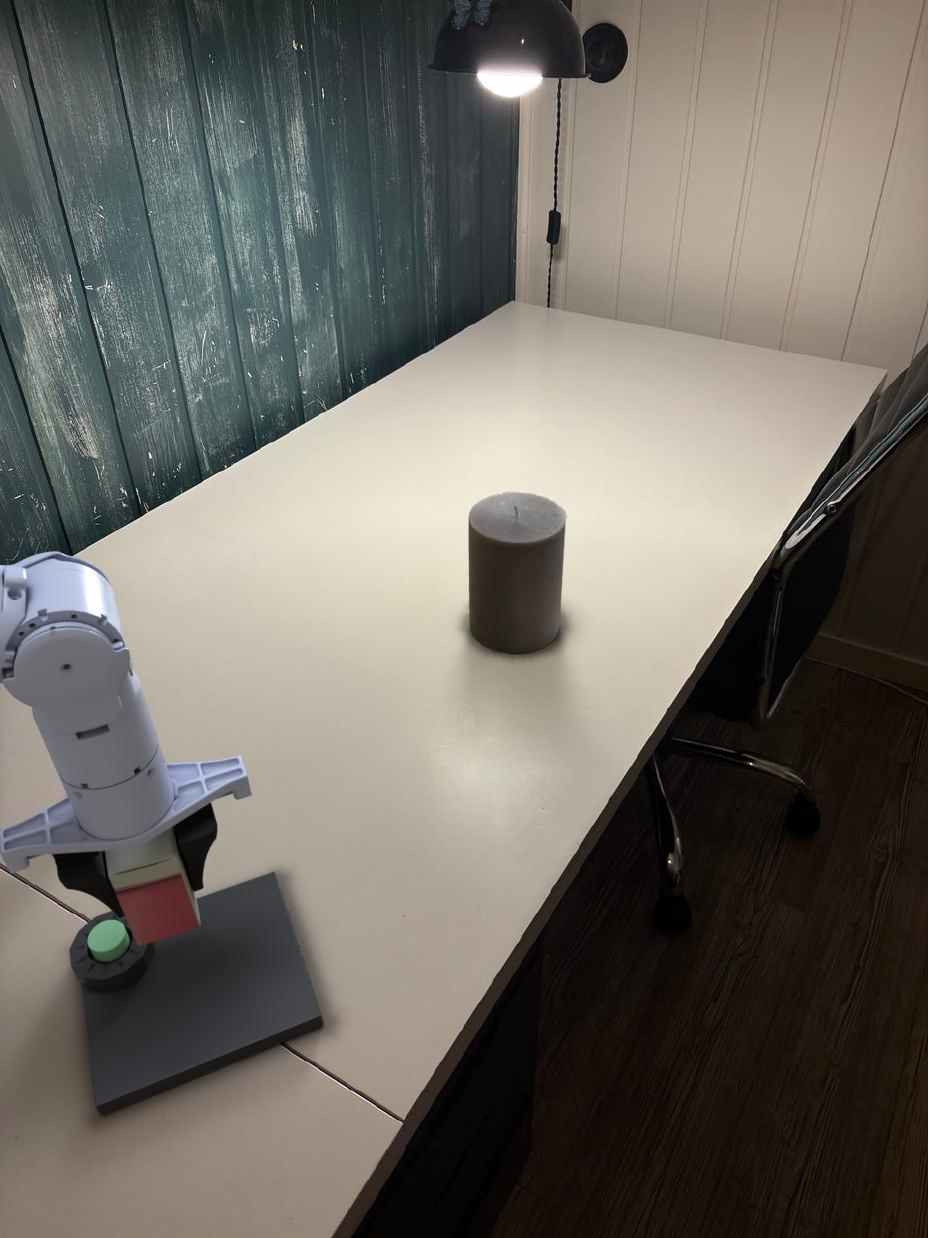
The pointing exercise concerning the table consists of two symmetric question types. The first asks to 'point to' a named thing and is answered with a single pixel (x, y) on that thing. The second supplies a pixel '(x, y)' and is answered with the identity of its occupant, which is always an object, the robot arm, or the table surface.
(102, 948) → the button
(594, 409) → the table surface
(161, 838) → the small box
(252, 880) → the scale
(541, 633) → the pillar candle
